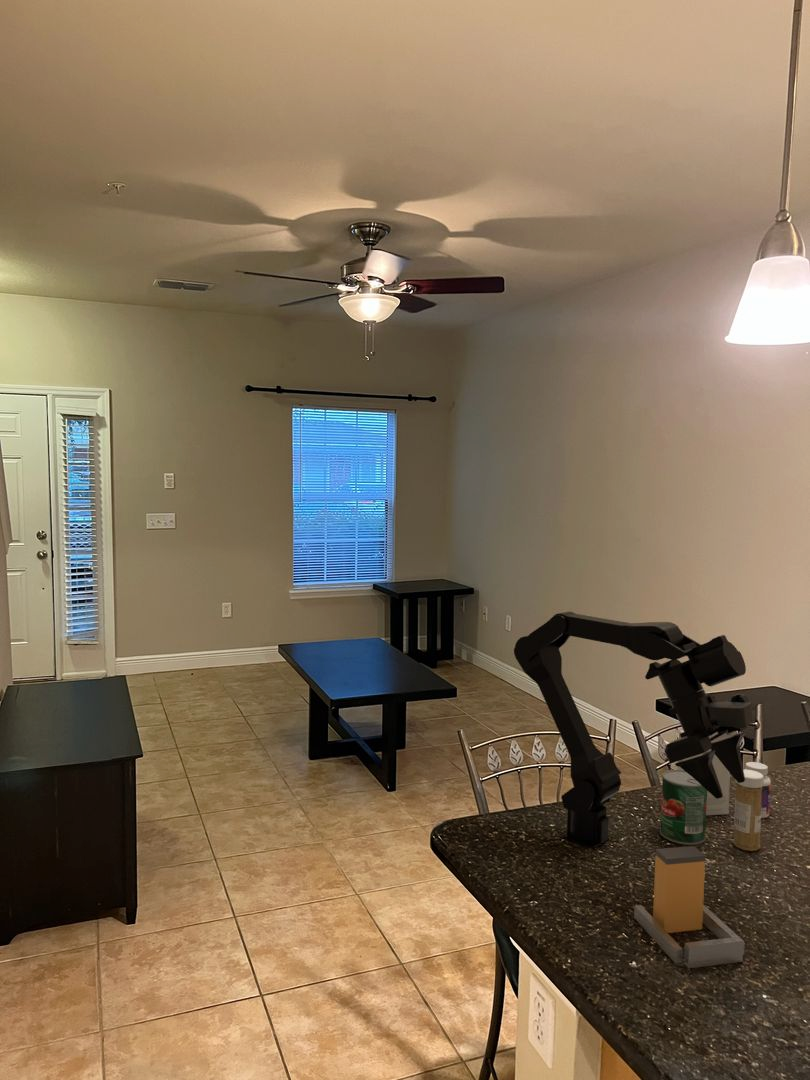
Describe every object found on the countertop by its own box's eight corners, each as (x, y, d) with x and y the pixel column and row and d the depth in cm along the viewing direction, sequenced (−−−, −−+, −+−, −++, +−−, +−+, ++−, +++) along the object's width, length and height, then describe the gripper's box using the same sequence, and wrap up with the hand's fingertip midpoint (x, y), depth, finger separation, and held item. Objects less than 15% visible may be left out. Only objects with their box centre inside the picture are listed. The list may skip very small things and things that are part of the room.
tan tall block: (652, 921, 110) (655, 849, 110) (690, 917, 112) (693, 846, 111) (663, 933, 107) (667, 859, 107) (702, 929, 109) (705, 855, 108)
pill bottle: (774, 819, 149) (776, 770, 148) (746, 818, 149) (748, 769, 148) (761, 807, 154) (764, 760, 153) (734, 807, 154) (737, 760, 154)
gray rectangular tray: (620, 909, 115) (621, 884, 115) (681, 902, 118) (682, 879, 117) (680, 976, 100) (681, 948, 99) (749, 967, 102) (750, 940, 101)
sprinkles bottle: (765, 851, 135) (769, 777, 134) (741, 852, 134) (745, 778, 134) (750, 839, 140) (753, 767, 139) (727, 840, 139) (730, 768, 138)
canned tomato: (651, 833, 142) (653, 775, 141) (675, 822, 146) (678, 766, 146) (689, 849, 135) (692, 788, 135) (714, 837, 140) (716, 779, 139)
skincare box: (713, 802, 156) (716, 727, 155) (730, 816, 150) (734, 738, 149) (674, 803, 155) (677, 728, 154) (690, 817, 149) (693, 739, 148)
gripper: (707, 689, 113) (757, 794, 109) (752, 670, 127) (798, 762, 122) (644, 712, 120) (689, 811, 116) (694, 691, 134) (735, 779, 129)
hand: (731, 789), depth 121 cm, fingers open, 9 cm apart
